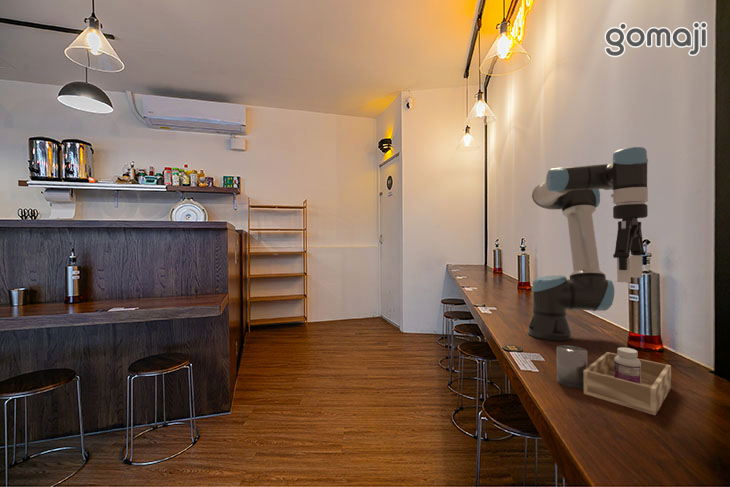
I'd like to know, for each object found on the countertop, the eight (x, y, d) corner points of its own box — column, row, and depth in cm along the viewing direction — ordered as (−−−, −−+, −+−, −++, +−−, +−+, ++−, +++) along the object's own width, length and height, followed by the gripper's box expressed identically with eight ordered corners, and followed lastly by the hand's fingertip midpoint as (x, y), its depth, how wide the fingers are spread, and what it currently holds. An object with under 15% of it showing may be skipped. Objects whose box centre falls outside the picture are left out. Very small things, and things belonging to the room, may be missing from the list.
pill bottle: (616, 381, 87) (615, 344, 87) (642, 387, 83) (642, 349, 83) (612, 387, 83) (612, 350, 83) (639, 394, 79) (639, 355, 79)
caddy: (607, 371, 95) (606, 351, 95) (671, 387, 84) (670, 365, 84) (583, 393, 82) (583, 370, 82) (655, 415, 72) (655, 389, 72)
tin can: (562, 374, 93) (562, 343, 93) (591, 382, 88) (591, 349, 88) (552, 382, 89) (552, 349, 89) (582, 391, 84) (581, 356, 83)
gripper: (624, 207, 103) (625, 274, 103) (600, 203, 87) (600, 283, 87) (656, 205, 97) (656, 276, 98) (636, 200, 81) (636, 285, 82)
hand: (630, 279), depth 93 cm, fingers open, 13 cm apart
